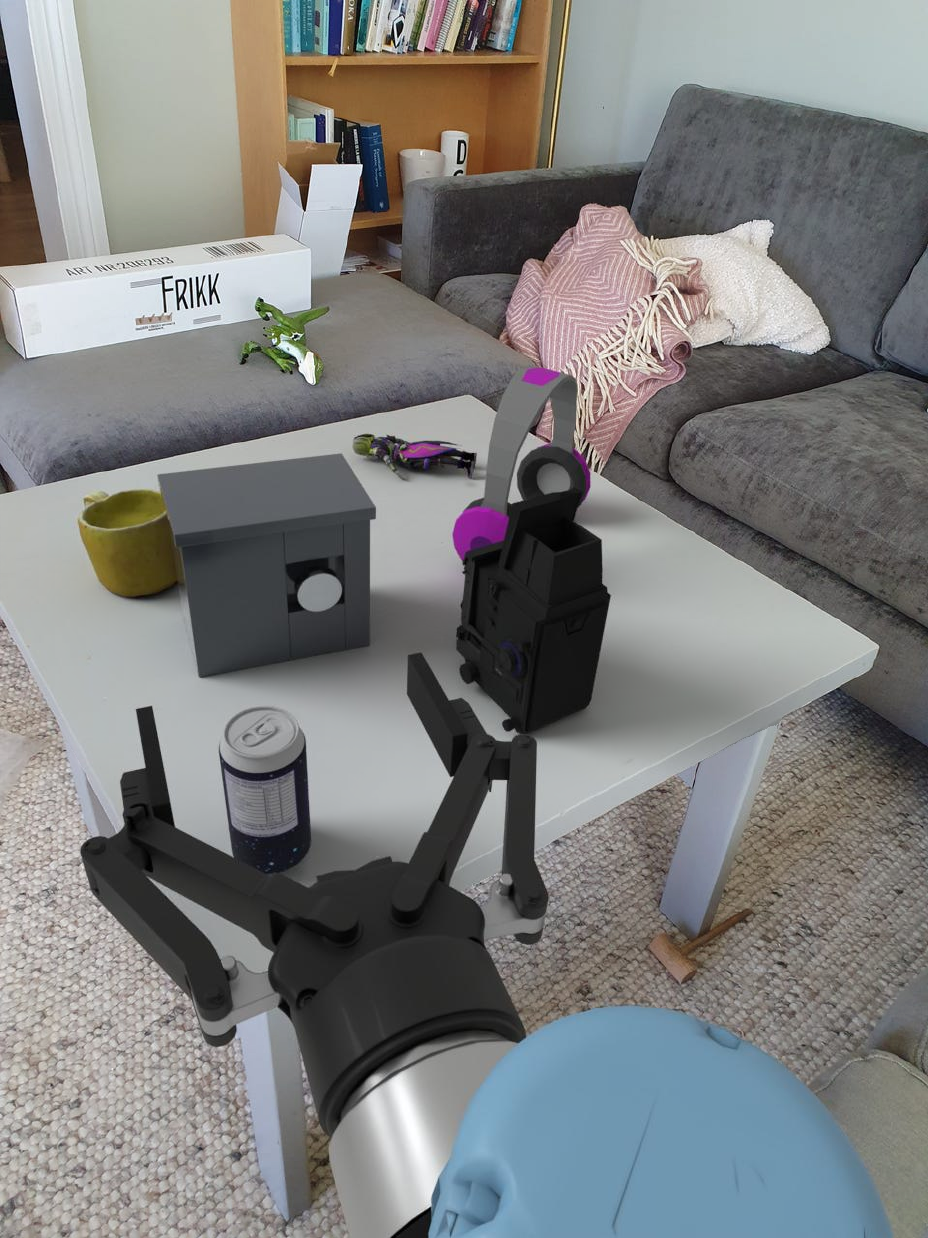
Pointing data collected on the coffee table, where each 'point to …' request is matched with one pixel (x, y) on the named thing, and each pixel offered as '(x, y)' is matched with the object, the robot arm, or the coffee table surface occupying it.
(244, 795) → the beverage can
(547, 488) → the headphones
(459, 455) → the character figure
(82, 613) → the coffee table surface
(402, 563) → the coffee table surface
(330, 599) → the flush button
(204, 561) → the cabinet
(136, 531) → the mug
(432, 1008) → the robot arm
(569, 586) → the camera
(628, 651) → the coffee table surface
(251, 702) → the coffee table surface
